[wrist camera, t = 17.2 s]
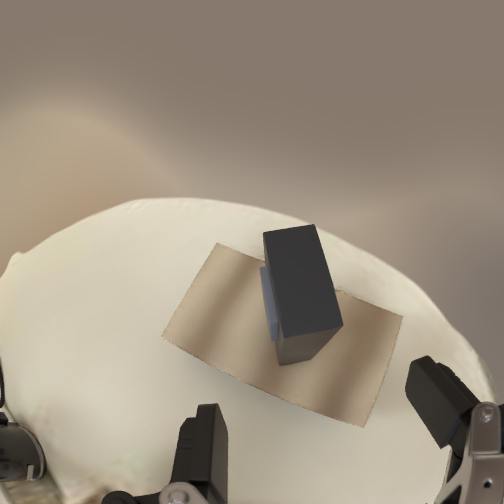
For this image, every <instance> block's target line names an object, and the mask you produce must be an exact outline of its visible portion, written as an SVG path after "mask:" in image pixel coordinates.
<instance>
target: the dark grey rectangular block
mask: <svg viewBox="0 0 504 504" xmlns="http://www.w3.org/2000/svg"><path fill="white" fill-rule="evenodd" d="M263 242H264V254H265V266H263V267H260V276H261V285H262V293H263V300H264V306H265V312H266V317H267V323H268V329H269V334H270V340H271V341H275V345H276V351H277V356H278V362H279V366H282V365H288V364H293V363H298V362H303V361H308V360H311V359H312V358H313V357H314V356H315V355H316V354H317V353H318V352H319V351H320V350H321V349H322V348H323V347H324V346H325V345H326V344H327V343H328V342H329V341H330V340H331V339H332V338H333V336H334V335H335V334H336V333H337V332H338V331H339V330H340V329H341V328H342V327H343V325H344V324H343V320H342V316H341V312H340V308H339V305H338V301H337V297H336V294H335V290H334V286H333V283H332V279H331V276H330V273H329V269H328V266H327V262H326V259H325V256H324V253H323V249H322V246H321V243H320V240H319V237H318V233H317V230H316V227H315V225H314V224H312V225H305V226H299V227H293V228H287V229H280V230H274V231H268V232H264V233H263Z"/></svg>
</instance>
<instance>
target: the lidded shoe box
mask: <svg viewBox="0 0 504 504" xmlns="http://www.w3.org/2000/svg"><path fill="white" fill-rule="evenodd" d="M263 266H265V262H263V261H260V260H258V259H255V258H253V257H250V256H248V255H245V254H243V253H240V252H238V251H235V250H233V249H230V248H228V247H225V246H223V245H220V244H218V243H216V245H215V247H214V248H213V250H212V252H211V253H210V255H209V256H208V258H207V260H206V261H205V263H204V265H203V266H202V268H201V269H200V271H199V273H198V274H197V276H196V278H195V279H194V281H193V283H192V284H191V286H190V288H189V289H188V291H187V293H186V294H185V296H184V298H183V299H182V301H181V303H180V305H179V306H178V308H177V310H176V311H175V313H174V315H173V316H172V318H171V320H170V322H169V323H168V325H167V327H166V329H165V330H164V332H163V334H162V335H161V337H162V338H164V339H165V340H167V341H169V342H170V343H172V344H174V345H175V346H177V347H179V348H181V349H182V350H184V351H186V352H188V353H189V354H191V355H193V356H195V357H197V358H198V359H200V360H202V361H204V362H206V363H208V364H209V365H211V366H213V367H215V368H217V369H219V370H221V371H223V372H225V373H227V374H229V375H231V376H233V377H235V378H237V379H239V380H241V381H243V382H245V383H247V384H250V385H252V386H254V387H256V388H258V389H260V390H263V391H265V392H267V393H269V394H272V395H274V396H276V397H279V398H281V399H283V400H286V401H288V402H291V403H293V404H296V405H298V406H301V407H303V408H306V409H309V410H311V411H314V412H317V413H319V414H322V415H325V416H328V417H331V418H334V419H336V420H339V421H342V422H346V423H349V424H352V425H355V426H358V427H362V428H364V425H365V423H366V421H367V419H368V416H369V414H370V412H371V409H372V407H373V405H374V402H375V400H376V397H377V395H378V392H379V390H380V387H381V384H382V382H383V379H384V376H385V373H386V370H387V367H388V365H389V362H390V359H391V355H392V352H393V349H394V346H395V343H396V339H397V336H398V332H399V329H400V325H401V321H402V316H400V315H397V314H395V313H392V312H390V311H387V310H385V309H382V308H379V307H377V306H374V305H372V304H369V303H367V302H364V301H362V300H359V299H356V298H354V297H351V296H349V295H346V294H344V293H341V292H339V291H336V290H335V294H336V297H337V301H338V305H339V308H340V312H341V316H342V320H343V324H344V325H343V327H342V328H341V329H340V330H339V331H338V332H337V333H336V334H335V335H334V336H333V338H332V339H331V340H330V341H329V342H328V343H327V344H326V345H325V346H324V347H323V348H322V349H321V350H320V351H319V352H318V353H317V354H316V355H315V356H314V357H313V358H312V359H311V360H308V361H303V362H298V363H293V364H288V365H282V366H279V362H278V356H277V351H276V345H275V341H271V340H270V334H269V329H268V323H267V317H266V312H265V306H264V300H263V293H262V285H261V276H260V267H263Z"/></svg>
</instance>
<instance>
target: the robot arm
mask: <svg viewBox="0 0 504 504" xmlns="http://www.w3.org/2000/svg"><path fill="white" fill-rule="evenodd" d="M0 389H1V397H0V408H2V407H3V405H4V383H3V377H2V373H1V369H0ZM405 392H406V396H407V398H408V400H409V401H410V403H411V404H412V406H413V407H414V409H415V410H416V412H417V413H418V415H419V416H420V418H421V419H422V421H423V422H424V424H425V425H426V427H427V429H428V430H429V432H430V433H431V435H432V436H433V438H434V439H435V441H436V443H437V444H438V446H439V447H440V449H441V448H443V447H445V446H447V445H450V446H451V449H450V452H449V457H448V462H447V467H446V471H445V476H444V480H443V484H442V487H441V489H440V491H439V493H438V495H437V497H436V499H435V501H434V504H502V503H503V497H504V404H502V405H499V406H497V405H495V404H494V403H492V402H480V401H479V400H478V399H477V398H476V396H475V395H474V394H473V393H472V392H471V391H470V390H469V389H468V388H467V386H466V385H465V384H464V383H463V382H461V381H460V379H459V378H458V377H457V376H455V373H454V372H453V371H452V370H451V369H450V368H449V367H447V366H445V365H443V364H441V363H437V364H436V363H435V361H434V360H433V359H432V358H431V357H430V356H424V357H421V358H419V359H416V360H414V361H412V362H411V364H410V368H409V373H408V377H407V382H406V386H405ZM178 438H179V440H178V442H177V448H176V453H175V459H174V464H173V470H172V476H171V480H170V482H169V484H168V485H167V486H165V487H164V488H163V489H162V490H161V491H160V492H158V493H155V494H150V495H143V496H136V497H133V496H132V495H131V494H129V493H127V492H124V491H113V492H110V493H109V494H107V495H106V496H105V497H104V498H103V500H102V503H101V504H227V493H228V431H227V427H226V424H225V421H224V418H223V416H222V413H221V410H220V407H219V405H218V404H217V403H216V404H202V405H198V408H197V415H196V417H193V418H187V419H186V420H185V422H184V423H183V424H182V426H181V427H180V432H179V437H178ZM45 469H46V465H45V458H44V455H43V452H42V449H41V447H40V445H39V443H38V441H37V439H36V438H35V437H34V435H33V434H32V433H31V432H30V431H29V430H28V429H26V428H24V427H20V426H19V425H18V423H12V422H8V418H7V417H6V415H5V414H4V413H3V412H0V482H10V481H24V480H38V479H41V478H42V477H43V476H44V474H45ZM426 504H427V503H426Z"/></svg>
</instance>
